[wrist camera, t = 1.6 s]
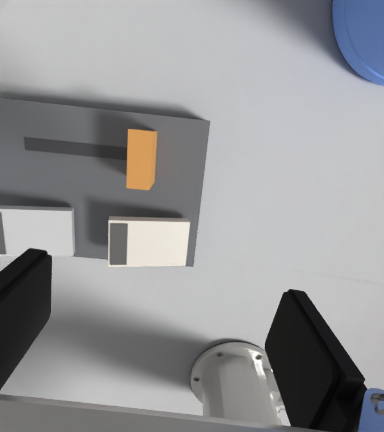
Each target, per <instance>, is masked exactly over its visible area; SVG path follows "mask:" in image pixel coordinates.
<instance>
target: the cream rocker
mask: <svg viewBox="0 0 384 432" xmlns="http://www.w3.org/2000/svg"><path fill="white" fill-rule="evenodd" d="M189 228H190V221H189V220H188V218H155V217H117V216H109V228H108V267H135V266H186V256H187V247H188V238H189Z"/></svg>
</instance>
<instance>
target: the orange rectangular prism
mask: <svg viewBox="0 0 384 432" xmlns="http://www.w3.org/2000/svg"><path fill="white" fill-rule="evenodd" d="M157 132H158V131H149V130H140V129H128V147H127V183H126V188H130V189H140V190H150V188H151V187H152V185H153V184H154V182H155V165H156V149H157Z"/></svg>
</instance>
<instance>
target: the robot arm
mask: <svg viewBox="0 0 384 432" xmlns="http://www.w3.org/2000/svg"><path fill="white" fill-rule="evenodd" d="M51 276H52V256H51V255H48V253H47V251H46V250H41V249H35V248H29V249H27V250H26V251H25V252H24V253H22V254H21V255H20V256H19V257H18V258H16V259H15V260H14V261H13V262H11V263H10V264H9V265H8V266H7V267H5V268H4V269H3V270H2V271H1V272H0V390H1V388H2V387H3V385H4V384H5V382H6V381H7V379H8V378H9V377H10V375H11V374H12V372H13V371H14V369H15V368H16V366H17V365H18V363H19V362H20V361H21V359H22V358H23V356H24V355H25V353H26V352H27V350H28V349H29V347H30V346H31V345H32V343H33V342H34V340H35V339H36V337H37V336H38V334H39V333H40V331H41V330H42V329H43V327H44V326H45V324H46V323H47V321H48V319H49V317H50V313H51ZM265 351H266V352H265ZM265 351H263V350H262V349H260V348H259V347H256V346H254V345H251V344H247V343H241V342H231V343H224V344H220V345H217V346H215V347H212V348H210V349H209V350H207V351H205V352H204V353H203V354H202V355H201V356H200V357H199V358H198V359H197V360H196V362H195V363H194V366H193V368H192V371H191V387H192V390H193V393H194V395H195V396H196V397H197V399H198V400H199V401H200V402H201V403H202V404H203V416H199V415H190V414H181V413H172V412H163V411H155V410H146V409H137V408H128V407H119V406H109V405H100V404H91V403H81V402H72V401H63V400H53V399H44V398H34V397H24V396H12V395H1V394H0V432H384V390H381V389H377V388H370V389H367V388H366V386H365V385H364V381H365V378H364V377H363V375H362V374H361V372H360V371H359V369H358V368H357V367H356V365H355V364H354V362H353V361H352V359H351V358H350V356H349V355H348V353H347V352H346V351H345V349H344V348H343V346H342V345H341V343H340V342H339V340H338V339H337V338H336V336H335V335H334V333H333V332H332V330H331V329H330V327H329V326H328V325H327V323H326V322H325V320H324V319H323V317H322V316H321V314H320V313H319V312H318V310H317V309H316V307H315V306H314V304H313V303H312V301H311V300H310V298H309V297H308V296H307V294H306V293H305V292H304V291H299V290H293V289H289V290H288V291H287V292H284V293H283V295H282V298H281V301H280V303H279V306H278V309H277V312H276V314H275V317H274V320H273V322H272V325H271V328H270V330H269V333H268V336H267V339H266V341H265ZM280 410H286V413H287V416H288V419H289V422H290V424H291V426H283V425H282V422H281V419H280V416H279V412H280Z"/></svg>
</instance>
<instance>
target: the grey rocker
mask: <svg viewBox="0 0 384 432" xmlns="http://www.w3.org/2000/svg"><path fill="white" fill-rule="evenodd" d="M29 248H35V249H41V250H46V251H47V253H48V255H51V256H73V255H74V253H75V230H74V208H68V207H38V206H7V205H0V256H20V255H21V254H22V253H24V252H25V251H26V250H27V249H29Z"/></svg>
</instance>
